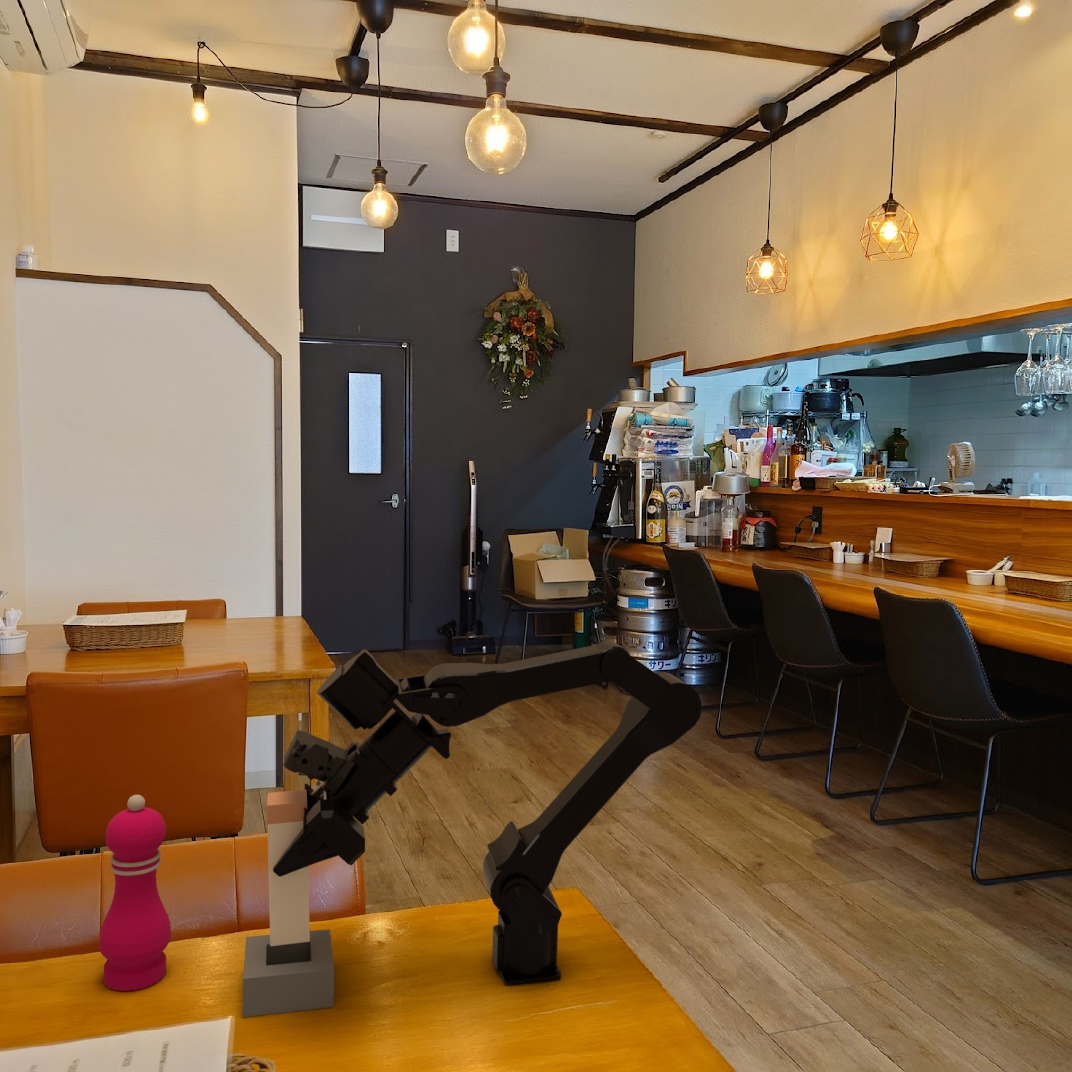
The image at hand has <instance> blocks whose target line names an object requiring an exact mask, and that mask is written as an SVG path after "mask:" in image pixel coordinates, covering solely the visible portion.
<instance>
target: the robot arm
mask: <svg viewBox="0 0 1072 1072" xmlns="http://www.w3.org/2000/svg"><path fill="white" fill-rule="evenodd" d="M607 682H608V683H609V682H611V683H613V684H615V685H616V686H618V687H619V688H620V689H622V690H623V691H624V692H626V693H628V694H629V695H630V696H631V697H630V699H629V700H628V702H627V704H626V706H625V708H624V711H623V714H622V716H621V719H620V722H619V724H618V726H617V728H616V729H615V731H614V732H613V733H612V734H611V735H610V736H609V738H607V740H606V741H605V742H604V743H603V745H601V747H599V748H598V750H596V752H595V753H594V754H593V755H592V757H591V758H590V759H589V760H588V761H587V762H586V763H585V765H584V766H583V767H581V769H580V770H579V771H578V772H577V773H576V775H575V776H573V778H572V779H571V780H570V781H569V782H568V783H567V784H566V786H565V787H564V788H563V789H562V790H561V791H560V792H559V793H558V795H557V796H555V798H553V800H552V801H551V802H550V804H549V805H548V806H547V807H546V808H545V809H544V810H543V812H541V813H540V815H539V816H538V817H536V819H535V820H534V821H532V822H531V823H528V824H526V825H524V826H522V827H520V828H519V827H518V826H517V825H516V824H515V822H514V821H513V820H511V821H510V822H508V823H507V824H506V825H505V827H504V829H503V831H502V832H501V833H500V835H499V836H498V837H497V838H496V839H494V841H492V842H490V843H487V845H486V847H487V850H488V853H487V854H486V855H485V857H484V859H483V863H482V871H483V872H482V874H483V878H484V880H485V882H486V886H487V889H488V892H489V896H490V899H491V901H492V903H493V905H494V906H495V907H496V908H497V910H498V913H497V924H494V926H493V927H492V945H491V946H492V948H491V949H492V950H491V951H492V952H491V953H492V954H491V956H492V957H491V961H492V962H493V965H494V967H495V968H494V969H495V970H496V971H497V972H498V973H499V975H500V976H501V979H502V982H503V983H504V984H505V985H517V984H526V983H536V982H544V981H554V980H555V981H556V980H559V979H561V978H562V972H561V970H560V968H559V967H558V963H557V962H558V942H559V941H558V940H559V937H558V936H559V922H560V920H561V918H562V915H563V913H562V910H561V909H560V907H559V904H558V902H557V900H556V898H555V896H554V894H553V893H552V890H551V888H550V885H551V883H552V882H553V880H554V878H555V874H556V872H557V870H558V867H559V864H560V862H561V858H562V856H563V854H564V853H565V851H566V850H567V848H568V847H569V846H571V844H572V843H573V842H574V840H575V839H576V838H577V837H578V836H579V835H580V834H581V833H582V832H583V831H584V829H585V828H586V827H587V826H588V824H589V823H591V821H593V819H594V818H595V816H597V815H598V814H599V812H601V810H602V809H603V808H604V807H605V805H606V804H608V802H609V801H610V800H611V799H612V798H613V797H614V795H615V794H617V792H618V791H619V790H620V789H621V788H622V787H623V785H624V784H625V783H626V782H627V781H628V780H629V779H630V778H631V777H632V775H633V774H634V773H635V772H637V770H638V769H639V767H640V766H641V765H642V764H643V763H644V762H645V760H646V759H648V758H649V757H650V756H651V755H653V754H656V753H658V752H660V751H662V750H664V749H666V748H668V747H670V746H673V745H674V744H675V743H677V742H678V741H679V740H680V739H681V738H683V737H684V736H685V735H686V734H687V733H688V732H690V731H691V730H692V729H693V728H695V727H696V726H697V724H698V723H699V721H700V719H701V717H702V715H703V711H702V701H701V697H700V694H699V693H698V692H697V690H696V689H695V688H694V687H692V686H691V685H690V684H689V683H686V682H685V681H683V680H682V679H680V678H678V677H677V676H675V675H673V674H672V673H669V672H665V671H657V672H655V671H654V670H652V669H651V668H649V667H648V666H646V665H645V664H643V663H642V662H640V661H639V660H638V659H636V658H635V657H634V656H631V655H630V652H629V651H627V649H625V648H624V647H623V646H621V645H619V644H618V643H616V642H614V641H612V640H611V641H610V640H603V641H600V642H598V643H596V644H594V645H589V646H584V647H579V648H575V649H569V650H564V651H560V652H554V653H549V654H545V655H540V656H535V657H534V656H533V657H529V658H524V659H520V660H515V661H514V660H513V661H509V662H505V663H491V664H490V663H478V662H453V663H452V662H451V663H450V662H449V663H447V662H446V663H439V664H436V665H434V666H432V667H431V668H430V669H429V670H428V671H427V672H426V674H419V675H412V676H406V677H400V678H395V679H394V678H393V677H392V676H391V675H390V674H389V673H388V672H387V671H386V670H385V669H384V668H383V667H382V666H381V665H380V664H379V663H378V661H377V660H376V659H375V657H374V656H373V655H372V654H371V653H370V652H369V651H368V650H367V649H362V650H361V651H360V652H358V654H357V655H355V656H353V657H351V658H350V659H348V661H346V662H345V663H344V664H340V665H339V666H338V667H337V668H336V669H335V670H334V671H333V672H332V673H330V675H329V676H328V677H327V678H326V680H324V682H323V683H322V684H321V686H319V687H318V688H319V689H318V690H317V692H316V694H317V695H318V697H319V698H321V699H322V700H323V701H324V702H325V703H326V704H327V705H328V706H330V708H331V709H332V710H333V711H335V712H336V713H337V714H338V715H339V717H341V718H342V719H343V720H344V721H345V722H346V723H347V724H348V725H349V726H350V727H351V728H352V729H354V730H358V729H360V728H361V729H362V730H371V729H373V728H374V727H375V726H377V725H378V724H379V723H380V722H381V721H382V720H383V719H384V718H385V717H386V716H387V715H388V714H389V713H390V711H391V710H392V709H393V711H392V712H391V713H390V715H388V716H387V717H386V718H385V719H384V720H383V721H382V722H381V723H380V724H379V725H378V726H377V727H376V728H375V729H374V730H373V731H372V732H371V733H370V734H369V735H368V736H367V737H366V738H365V739H364V740H363V741H362V742H361V743H360V742H359V741H357V740H356V741H355V742H354V741H353V742H351V743H350V744H349V745H348V746H347V747H346V748H345V749H344V748H342V747H340V746H337V745H335V744H334V743H332V742H330V741H327V740H326V739H323V738H321V737H319V736H315V735H313V734H311V733H309V732H306V731H303V730H297V731H295V734H294V736H293V738H292V741H291V742H290V744H289V746H288V748H287V751H286V752H285V754H284V757H283V758H284V761H283V764H282V765H283V767H284V768H285V769H286V770H288V771H290V772H292V773H295V774H296V773H300V774H302V775H305V776H307V778H308V779H309V780H310V781H313V780H317V781H316V783H314V784H313V785H312V786H310V785H309V784H308V783H306V782H305V783H304V784H303V790H306V791H307V809H306V808H305V807H304V810H303V828H302V830H301V831H300V833H299V834H298V835H297V837H296V838H295V839H294V841H293V842H292V843H291V845H290V846H289V847H288V849H287V850H286V851H285V853H284V854H283V855H282V857H281V858H280V859H279V861H278V862H277V864H276V865H275V866H274V868H273V872H274V873H275V874H277V875H278V876H279V877H281V876H284V875H286V874H289V873H291V872H294V871H296V870H299V869H302V868H304V867H307V866H308V867H310V866H312V865H314V864H318V863H320V862H323V861H326V860H329V859H333V858H335V857H339V858H340V859H341V860H342V861H343V862H344V863H346V865H349V866H353V865H354V864H355V863H356V861H357V860H359V858H361V857H362V855H363V854H364V853H365V852H366V835H365V828H364V824H365V823H366V822H367V821H368V820H369V819H370V814H369V811H370V810H372V808H373V807H374V806H376V804H377V803H378V802H379V801H380V800H381V799H383V798H384V796H385V795H386V794H387V795H389V797H391V796H393V795H394V794H395V793H396V792H397V791H398V787H397V786H398V785H397V783H399V781H400V780H401V779H402V778H403V777H404V776H406V775H407V773H408V772H410V770H411V769H412V768H413V767H414V766H415V765H416V764H418V762H419V761H420V760H421V759H422V758H423V757H424V756H425V755H426V754H427V753H428V752H429V751H430V750H431V749H432V748H433V749H434V750H435V751H436V752H437V753H438V754H439V755H440V756H441V757H442V758H443V759H445V760H447V759H450V757H451V754H450V741H451V738H452V733H451V731H450V729H449V727H451V728H452V727H453V728H454V727H459V726H462V725H464V724H467V723H469V722H471V721H473V720H476V719H479V718H482V717H484V716H486V715H489V713H491V712H493V711H495V710H496V709H498V708H500V707H501V706H503V705H506V704H509V703H512V702H516V701H520V700H525V699H530V698H535V697H539V696H545V695H549V694H553V693H558V692H563V691H569V690H573V689H579V688H582V687H587V686H592V685H597V684H601V683H602V684H603V683H607ZM411 713H414V714H413V715H412V714H411ZM426 716H429V718H430V719H431V720H432V721H434V722H435V723H437V724H438V725H440V726H441V727H446V728H438V727H437V726H435V725H434V723H432V721H430V720H429V719H428V717H426Z"/></svg>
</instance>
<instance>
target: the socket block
mask: <svg viewBox="0 0 1072 1072" xmlns="http://www.w3.org/2000/svg"><path fill="white" fill-rule="evenodd" d="M331 936H332V935H331V929H329V928H328V929H327V928H326V929H319V930H310V942H302V943H293V944H285V945H277V946H270V934H263V935H262V934H261V935H250V936H246V937H245V947H244V958H243V959H244V960H243V972H242V973H243V974H242V1008H241V1009H242V1010H241V1011H242V1015H241V1017H242V1018H248V1017H249V1018H250V1017H257V1016H267V1015H268V1016H269V1015H274V1014H275V1015H276V1014H283V1013H284V1014H286V1013H293V1012H300V1011H301V1012H302V1011H303V1012H305V1011H311V1010H319V1009H330V1008H334V1005H335V1004H334V1000H335V999H334V998H335V997H334V996H335V993H334V992H335V989H334V988H335V965H334V956H333V946H332V945H333V944H332V939H331V938H332V937H331Z"/></svg>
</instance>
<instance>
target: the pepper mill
mask: <svg viewBox="0 0 1072 1072" xmlns="http://www.w3.org/2000/svg"><path fill="white" fill-rule="evenodd" d="M126 803H127V809H124V810H122V811H120V812H118V813H117V814H115V815H114V816H113V817H112V818H111V819H110V821H109V822H108V825H107V827H106V830H105V844H106V846H107V847H106V848H108V850H109V851H110V852H111V853H112V855H111V857H110V863H111V865H110V869H109V870H110V871H111V873H113V874H114V882H115V883H114V893H113V898H112V901H111V904H110V907H109V909H108V912H107V913H106V914H105V917H104V920H103V922H102V925H101V927H100V931H99V936H98V937H99V938H98V950H99V952H100V954H101V956H103V958H105V959H106V961H105V962H104V964H103V983H104V985H105V986H106V988H109V989H110V990H115V991H119V992H131V991H138V990H141V989H146V988H149V987H151V986H154V985H155V984H156V983H158V982H160V981H161V980H162V979H163V978H164V976H165V974H166V972H167V955H166V953H165V952H164V950H165V949H166V948H167V946H168V945H169V944H170V941H171V939H172V938H171V937H172V927H171V921H170V917H169V914H168V912H167V910H166V908H165V906H164V904H163V902H162V899H161V897H160V893H159V890H158V885H157V869H158V868H159V867H160V866H161V863H162V860H161V855H162V852H161V850H160V849H159V848H160V847H161V846H162V844H163V843H164V840H166V839H165V838H166V834H167V828H166V827H167V826H166V822H165V819H164V817H163V816H162V815H161V813H159V812H158V811H157V810H155V809H153V808H149V807H146V805H145V804H146V800H145V798H144V796H142V795H140V794H133V795H131V796H130V797H129V798H128V800H127V802H126Z"/></svg>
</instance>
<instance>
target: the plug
mask: <svg viewBox="0 0 1072 1072" xmlns="http://www.w3.org/2000/svg"><path fill="white" fill-rule="evenodd" d="M266 806H267V808H266V810H267V811H266V817H267V820H266V821H267V858H268V859H267V861H268V862H267V863H268V864H267V865H268V898H269V899H268V901H269V902H268V903H269V911H268V912H269V935H270V946H277V945H285V944H293V943H302V942H310V931H311V930H310V889H309V886H310V885H309V866H307V867H304V868H302V869H299V870H296V871H294V872H291V873H289V874H286V875H284V876H281V877H279V876H278V875H277V874H275V873H274V872H273V868H274V866H275V865H276V864H277V862H278V861H279V859H280V858H281V857H282V855H283V854H284V853H285V851H286V850H287V849H288V847H289V846H290V845H291V843H292V842H293V841H294V839H295V838H296V837H297V835H298V834H299V833H300V831H301V830H302V828H303V810H304V807H305V808H306V809H307V791H306V790H304V789H298V790H297V789H295V790H285V791H272V792H267V802H266Z"/></svg>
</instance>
